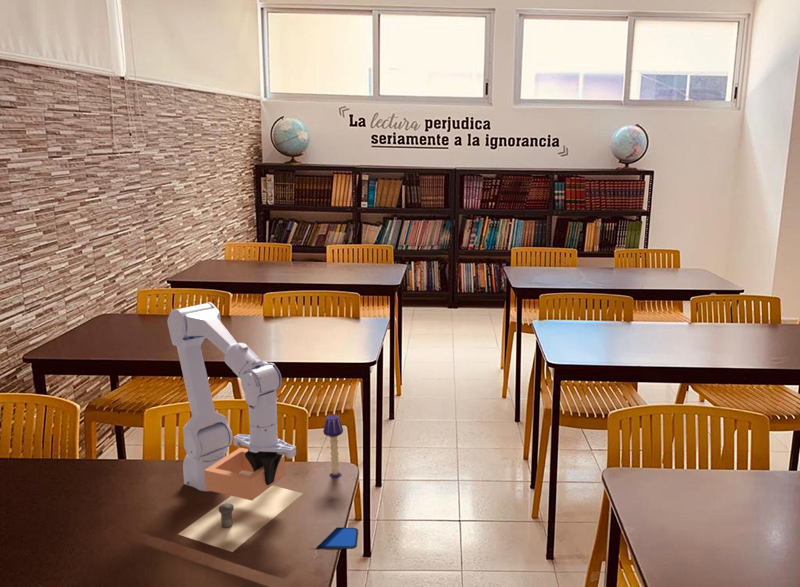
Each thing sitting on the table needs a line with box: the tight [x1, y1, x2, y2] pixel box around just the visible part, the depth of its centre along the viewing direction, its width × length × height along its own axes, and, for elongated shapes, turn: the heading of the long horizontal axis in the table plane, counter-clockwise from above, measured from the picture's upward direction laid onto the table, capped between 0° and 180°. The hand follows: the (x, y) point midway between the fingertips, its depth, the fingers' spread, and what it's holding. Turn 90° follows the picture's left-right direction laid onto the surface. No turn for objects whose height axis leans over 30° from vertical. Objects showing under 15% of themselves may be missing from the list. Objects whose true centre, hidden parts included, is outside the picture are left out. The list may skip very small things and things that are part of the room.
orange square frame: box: [204, 447, 286, 500], centre depth 147 cm, size 12×12×4 cm
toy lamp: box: [322, 414, 344, 479], centre depth 163 cm, size 5×5×17 cm
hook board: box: [177, 484, 304, 553], centre depth 147 cm, size 14×25×6 cm, turn 155°
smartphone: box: [315, 526, 359, 550], centre depth 141 cm, size 7×1×15 cm
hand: (265, 481), depth 145 cm, fingers closed on orange square frame, 2 cm apart
